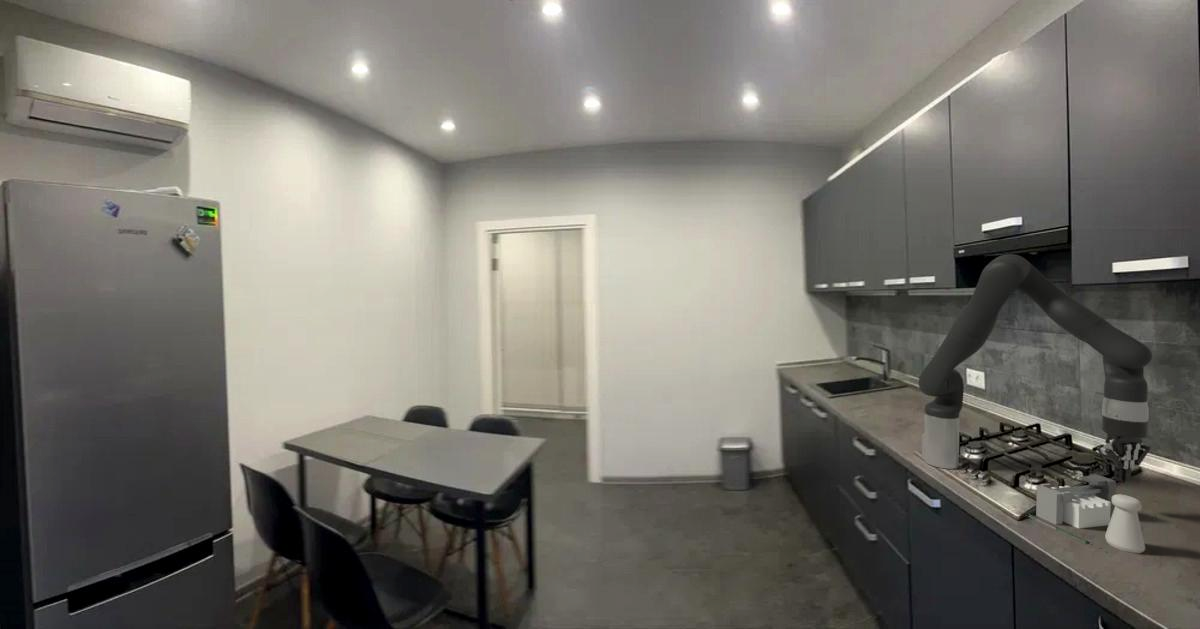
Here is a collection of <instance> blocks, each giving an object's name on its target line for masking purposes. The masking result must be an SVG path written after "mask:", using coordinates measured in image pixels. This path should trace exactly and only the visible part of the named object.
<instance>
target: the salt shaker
mask: <svg viewBox="0 0 1200 629" xmlns="http://www.w3.org/2000/svg"><path fill="white" fill-rule="evenodd" d="M1111 499H1112V504H1113V505H1115V508H1114V511H1113V514H1112V517H1111V518H1110V523H1109V525H1107V529H1106V532H1105V534H1104V537H1105V541H1106V543H1108V544H1109V545H1110V546H1111V547H1113V548H1116V549H1118V550H1121V551H1124V552H1126V553H1132V554H1141V553H1143V552H1145V550H1146V546H1145V540H1144V537H1143V531H1142V527H1141V523H1140V519H1139V514H1138V513H1139V511H1141V510H1142V508H1143V507H1142V502H1141V500H1139V499H1137V498H1135V497H1132V496H1129V495H1127V494H1126V495H1125V494H1120V493H1119V494H1116V493H1115V495H1113V496H1112V498H1111Z"/></svg>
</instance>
